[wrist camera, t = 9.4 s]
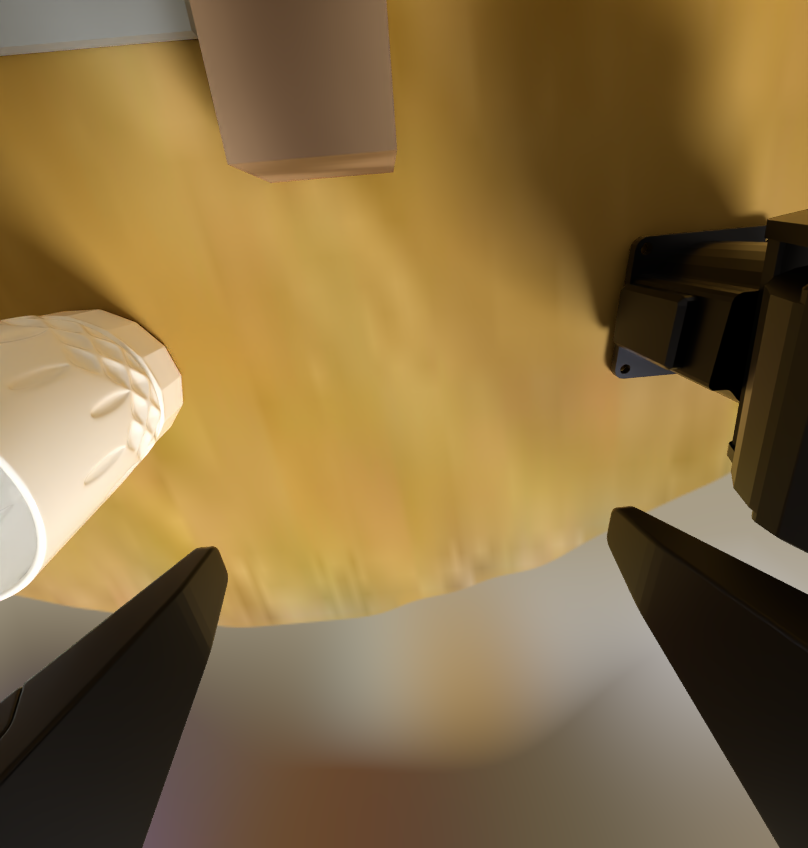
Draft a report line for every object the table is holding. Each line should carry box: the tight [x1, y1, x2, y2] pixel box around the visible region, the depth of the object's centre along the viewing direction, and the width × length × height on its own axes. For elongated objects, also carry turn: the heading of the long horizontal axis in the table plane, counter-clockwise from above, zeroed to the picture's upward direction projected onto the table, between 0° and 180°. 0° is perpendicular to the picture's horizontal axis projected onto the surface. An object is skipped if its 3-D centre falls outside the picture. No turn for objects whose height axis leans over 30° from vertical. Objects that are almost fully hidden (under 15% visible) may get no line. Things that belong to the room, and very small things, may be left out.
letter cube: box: [189, 0, 397, 183], centre depth 13 cm, size 5×5×5 cm
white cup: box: [0, 309, 183, 601], centre depth 15 cm, size 8×8×10 cm
